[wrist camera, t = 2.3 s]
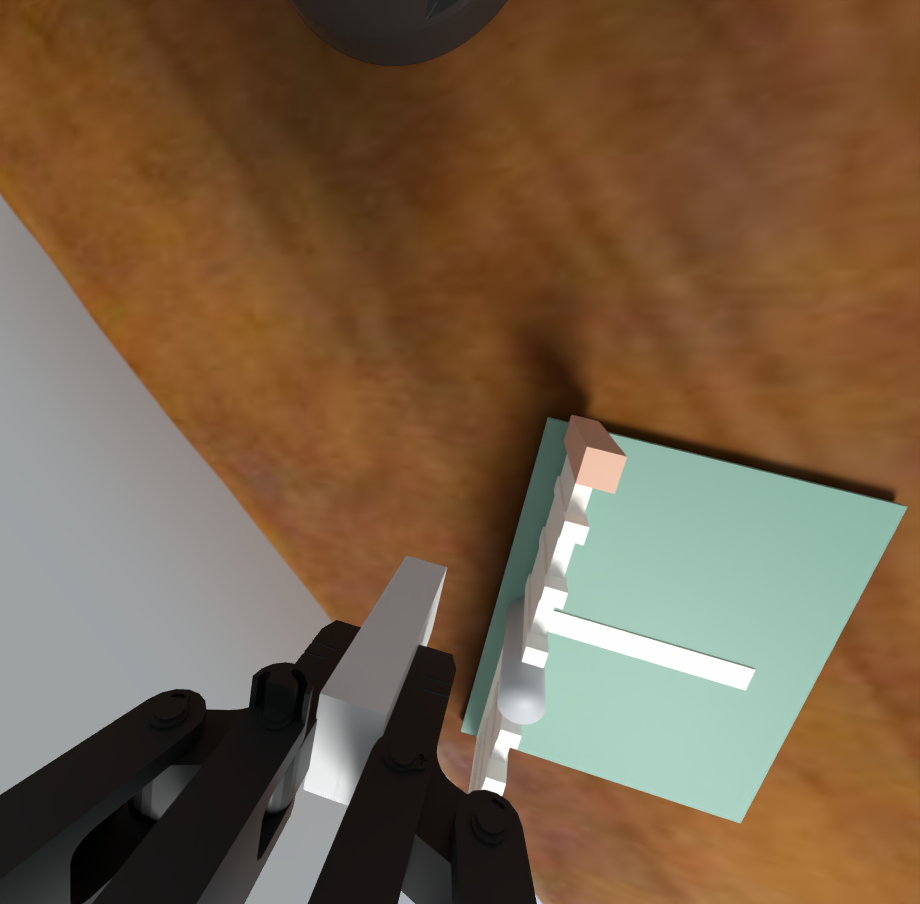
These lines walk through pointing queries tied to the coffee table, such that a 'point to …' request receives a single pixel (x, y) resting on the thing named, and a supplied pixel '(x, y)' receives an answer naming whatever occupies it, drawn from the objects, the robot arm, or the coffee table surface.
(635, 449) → the board
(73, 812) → the robot arm
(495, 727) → the fixed fence
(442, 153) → the coffee table surface
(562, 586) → the white crenellated wall
